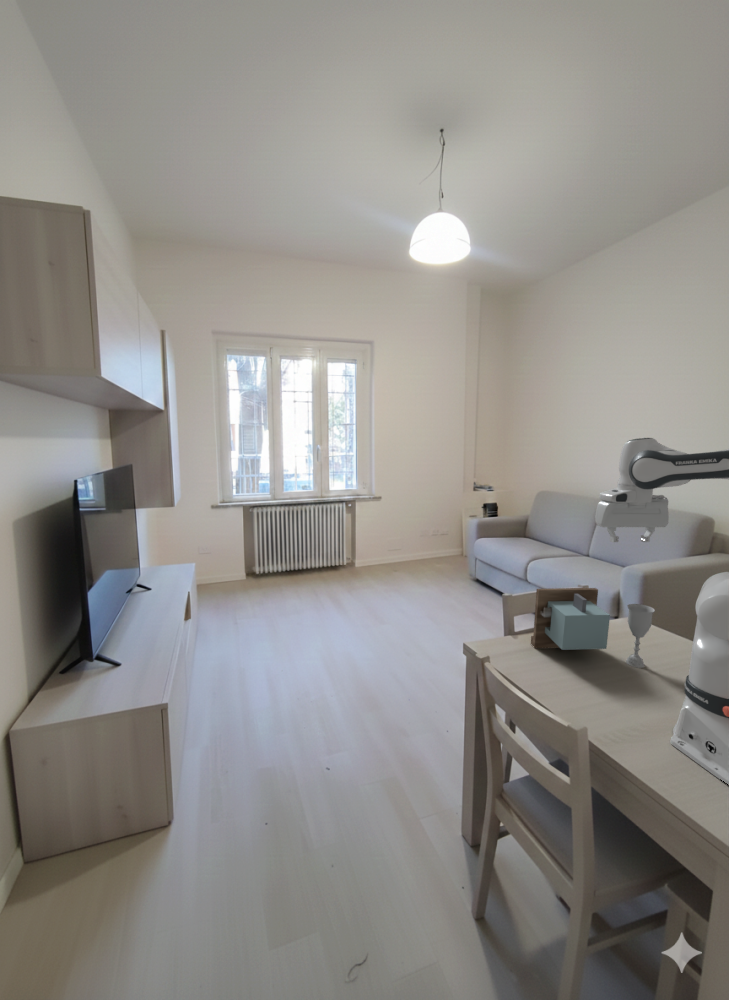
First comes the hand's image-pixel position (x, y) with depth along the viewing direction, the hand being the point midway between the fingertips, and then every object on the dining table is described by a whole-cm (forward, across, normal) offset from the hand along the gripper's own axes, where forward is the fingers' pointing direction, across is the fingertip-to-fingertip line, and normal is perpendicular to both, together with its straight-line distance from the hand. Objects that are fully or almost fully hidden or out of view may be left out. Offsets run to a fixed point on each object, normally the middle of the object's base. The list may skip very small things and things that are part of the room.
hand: (629, 541), depth 130 cm
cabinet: (+34, +10, -7) cm, 36 cm away
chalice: (+39, -7, -2) cm, 40 cm away
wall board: (+39, +10, -13) cm, 42 cm away
